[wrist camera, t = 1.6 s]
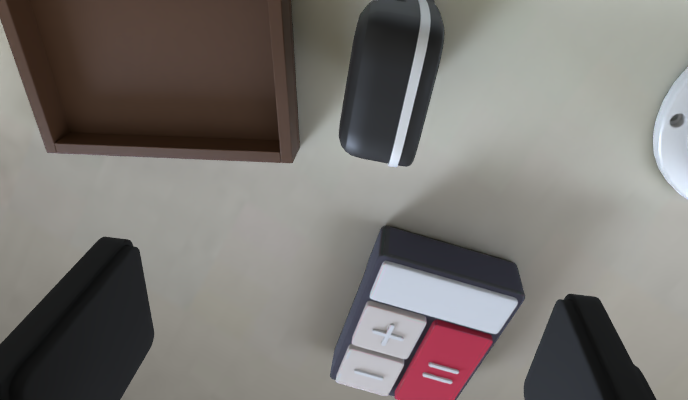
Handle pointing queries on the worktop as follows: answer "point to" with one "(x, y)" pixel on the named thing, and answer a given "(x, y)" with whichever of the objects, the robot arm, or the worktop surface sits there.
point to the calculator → (424, 317)
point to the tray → (159, 76)
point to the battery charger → (391, 79)
